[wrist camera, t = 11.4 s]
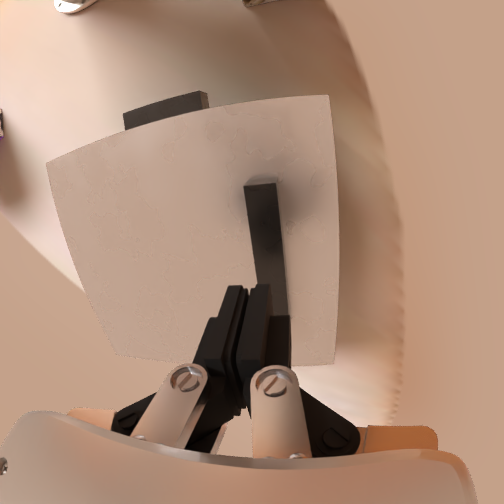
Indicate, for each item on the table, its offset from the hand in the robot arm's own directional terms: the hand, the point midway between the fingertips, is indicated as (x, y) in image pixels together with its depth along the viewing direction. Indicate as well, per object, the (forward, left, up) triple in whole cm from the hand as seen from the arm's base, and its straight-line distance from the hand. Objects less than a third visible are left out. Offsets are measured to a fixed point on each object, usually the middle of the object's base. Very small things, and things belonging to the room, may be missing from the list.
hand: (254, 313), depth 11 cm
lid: (+1, -6, -7) cm, 9 cm away
